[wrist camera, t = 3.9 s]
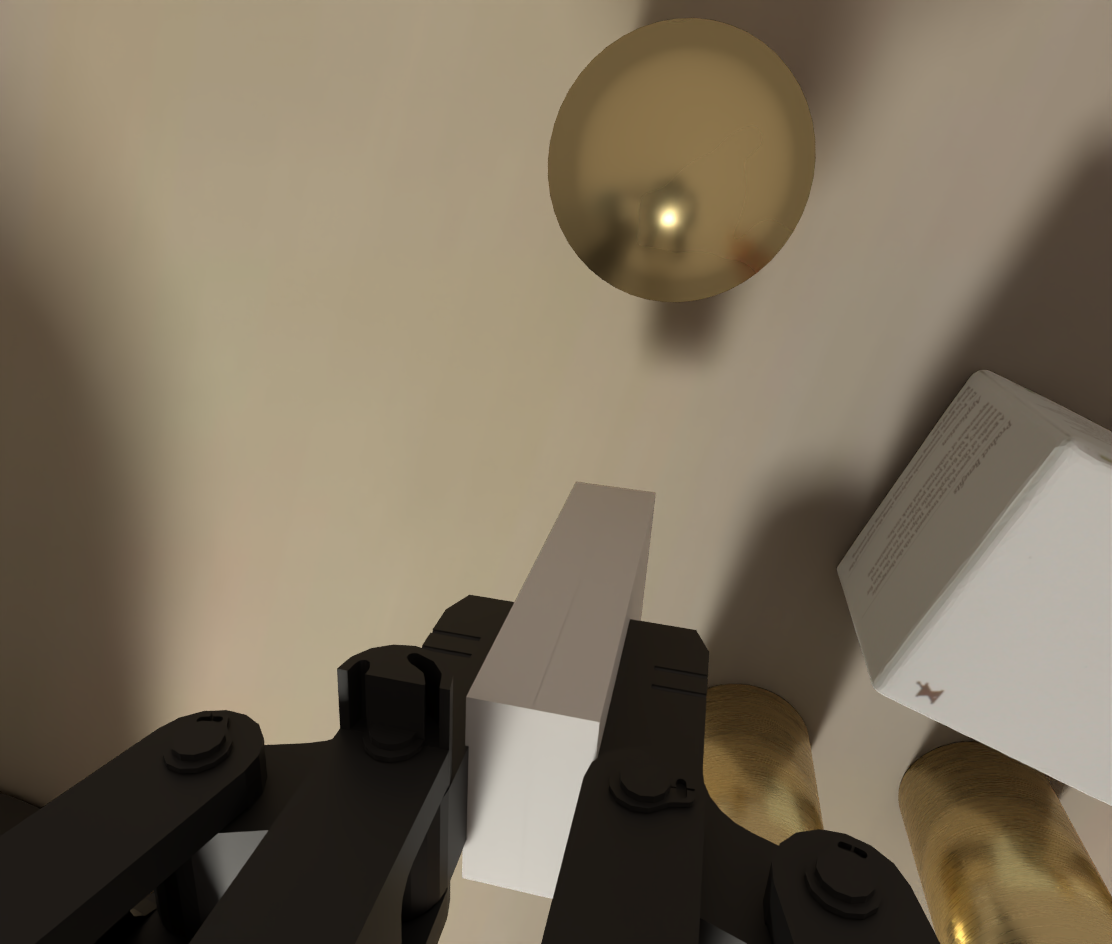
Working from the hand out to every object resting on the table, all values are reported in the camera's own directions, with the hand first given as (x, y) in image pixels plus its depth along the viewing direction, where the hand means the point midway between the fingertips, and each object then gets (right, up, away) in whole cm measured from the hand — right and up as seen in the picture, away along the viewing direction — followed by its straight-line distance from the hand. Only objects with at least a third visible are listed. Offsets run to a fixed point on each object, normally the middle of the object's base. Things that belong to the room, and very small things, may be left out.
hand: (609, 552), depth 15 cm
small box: (+9, 0, +3) cm, 10 cm away
